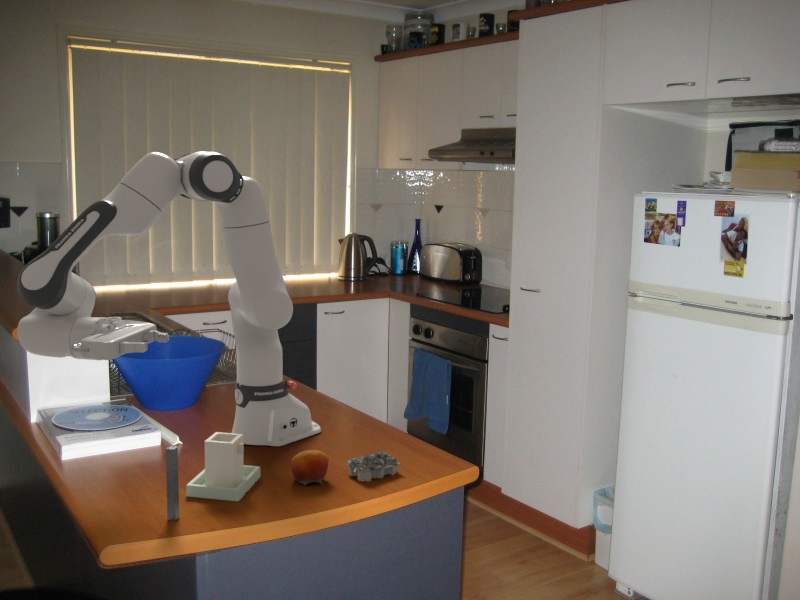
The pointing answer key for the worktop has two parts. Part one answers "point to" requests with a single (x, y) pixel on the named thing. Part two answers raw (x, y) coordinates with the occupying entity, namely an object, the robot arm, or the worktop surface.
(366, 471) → the egg carton
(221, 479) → the white square cup
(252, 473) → the tray
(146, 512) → the worktop surface
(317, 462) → the fruit
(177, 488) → the post
